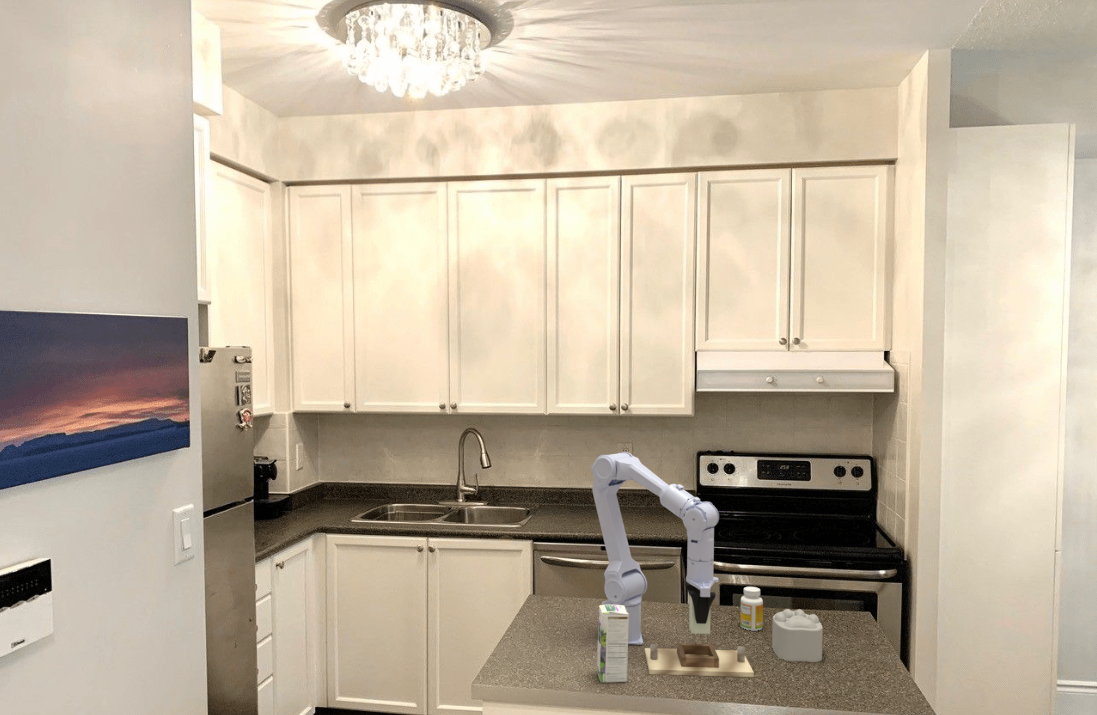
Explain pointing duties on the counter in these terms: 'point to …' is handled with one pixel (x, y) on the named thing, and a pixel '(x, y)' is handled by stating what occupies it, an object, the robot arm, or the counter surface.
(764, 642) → the counter surface
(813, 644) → the lumpy-topped squat cylinder
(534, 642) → the counter surface
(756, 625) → the supplement bottle
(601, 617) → the syrup box
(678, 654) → the socket plate
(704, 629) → the sage peg
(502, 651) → the counter surface
